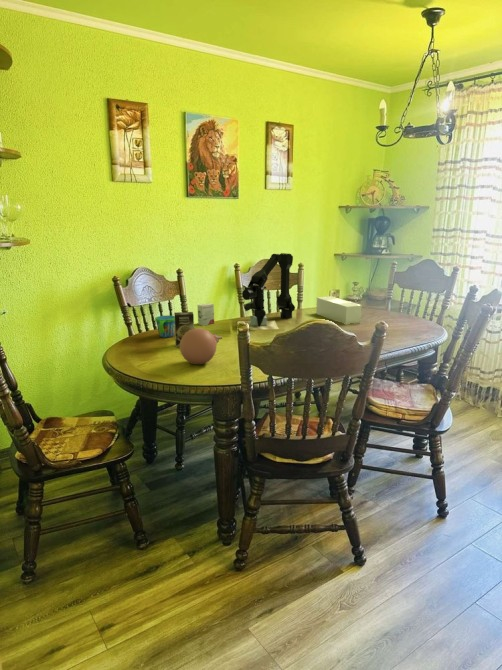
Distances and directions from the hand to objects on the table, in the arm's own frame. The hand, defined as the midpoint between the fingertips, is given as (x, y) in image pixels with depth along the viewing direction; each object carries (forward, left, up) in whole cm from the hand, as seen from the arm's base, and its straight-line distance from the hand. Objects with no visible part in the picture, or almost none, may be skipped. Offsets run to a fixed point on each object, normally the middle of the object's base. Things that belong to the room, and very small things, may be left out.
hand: (258, 324), depth 252 cm
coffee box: (+39, +32, -2) cm, 50 cm away
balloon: (+29, +59, -2) cm, 66 cm away
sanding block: (0, 0, 0) cm, 0 cm away
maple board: (+1, 0, -2) cm, 2 cm away
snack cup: (+50, +14, -2) cm, 52 cm away
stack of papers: (-50, -19, -2) cm, 54 cm away
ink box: (+30, -11, -2) cm, 32 cm away
